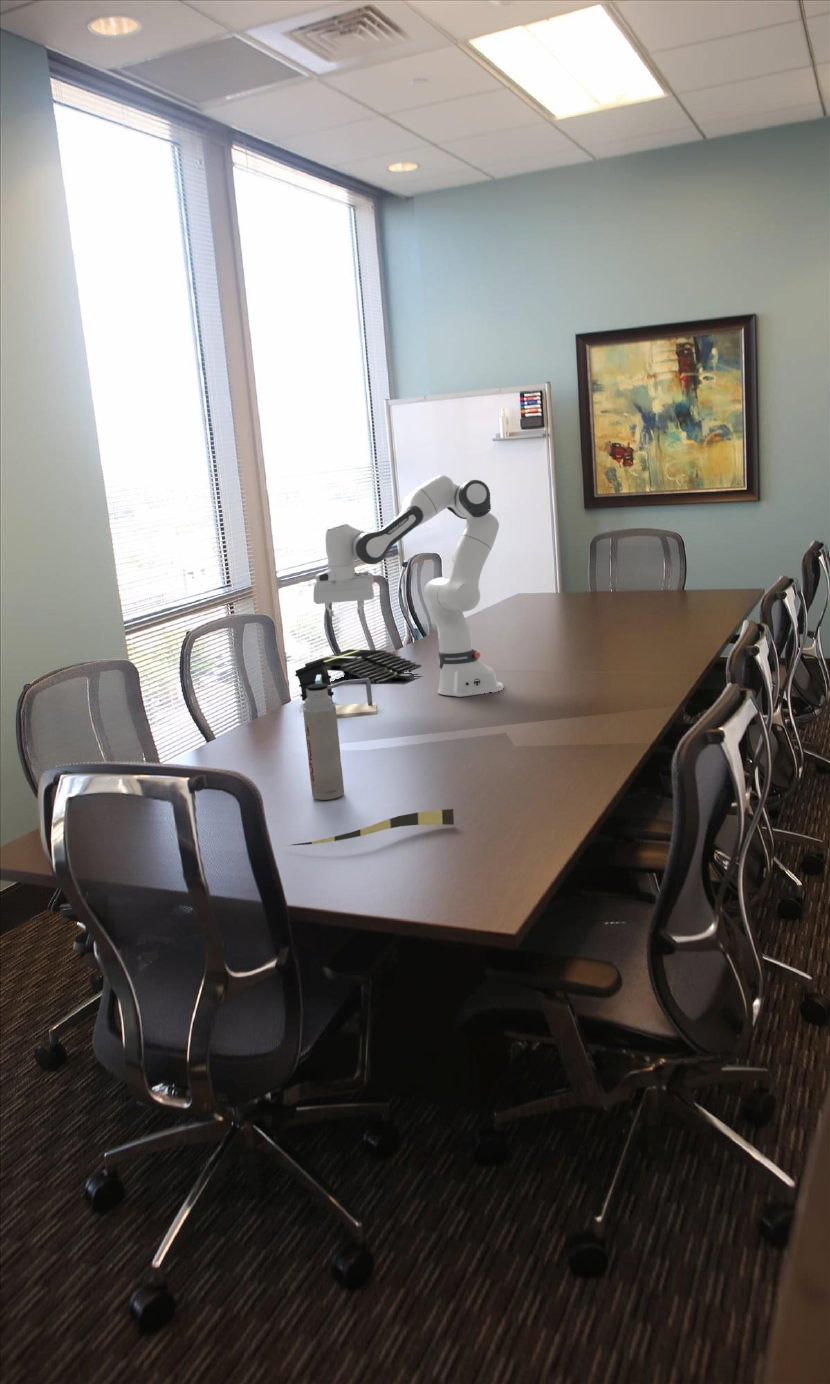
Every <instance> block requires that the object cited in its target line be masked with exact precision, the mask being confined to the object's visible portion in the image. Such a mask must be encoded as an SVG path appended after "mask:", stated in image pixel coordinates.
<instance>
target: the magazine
mask: <svg viewBox="0 0 830 1384" xmlns="http://www.w3.org/2000/svg"><path fill="white" fill-rule="evenodd" d="M325 664H326V662H324V661H323V659H322V660H319V661H317V662H315V663H312V664H310V665H308V666H305V665H304V666H303V667H300V668H299V669H297V670H295V672H294V673H295V674H294V676H295V677H297V679H298V681H299V685H298V687H299V688H300V690H301V691H300V692H301V694H300V697H301V701H303V702H305V699H307V694H306V689H307V687H308V686H309V685H313V684H316V683H315V680H316V676H317V675H321V677H322V684H327V686H328V685H332V684H331V679H332V676H331V675H329V674H330V673H329V670H327V668H326V666H325ZM332 689H333V688H332ZM332 689H327V691H328V695H329V696H331V697H332V698H333V696H335V695H334V691H333V690H332Z"/></svg>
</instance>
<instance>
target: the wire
mask: <svg viewBox="0 0 830 1384" xmlns="http://www.w3.org/2000/svg"><path fill="white" fill-rule="evenodd" d="M359 683H365V687H366V689H365V690H366V700H367V703H368V705H369V706H370V705H373V703H372V702H373V695H372V682H371V681H370V680H369V678H367V679H364V678H358V679H357V678H356V679H348V680H346V679H345V680H342V681H339V682H335V683H332V684H331V685H328V687H327V689H335V688H338V687H341V686H344V685H349V684H350V685H351V684H359ZM306 694H307V698H308V689H306Z"/></svg>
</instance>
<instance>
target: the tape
mask: <svg viewBox="0 0 830 1384" xmlns="http://www.w3.org/2000/svg"><path fill="white" fill-rule="evenodd" d="M425 825H426V826H427V825H448V826H449V825H450V826H451V825H452V826H453V825H455V817H454V808H448V809H438V810H437V809H435V810H428V811H421V812H420V811H419V812H412V813H407V814H402V815H398V816H395V817H391V818H388V819H385V820H382V821H380V822H377V823H375V824H373V825H370V826H367V827H364V828H360V829H357V830H354V831H351V832H347V833H343V834H338V835H335V836H331V837H328V838H323V839H317V840H314V841H308V842H300V843H293V844H288V845H287V844H286V845H284V846H288V847H289V846H305V845H317V844H323V843H330V842H336V841H342V840H343V841H344V840H348V839H353V838H359V837H363V836H367V835H371V834H375V833H378V832H382V831H386V830H389V829H393V828H399V827H408V826H409V827H410V826H425Z"/></svg>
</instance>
